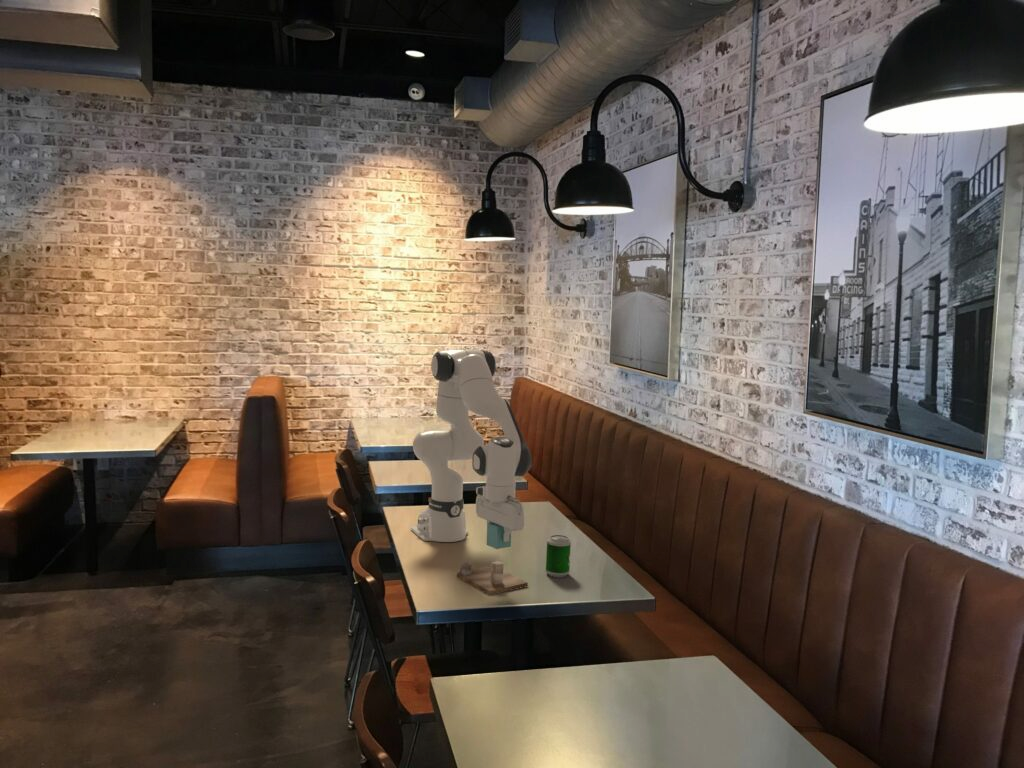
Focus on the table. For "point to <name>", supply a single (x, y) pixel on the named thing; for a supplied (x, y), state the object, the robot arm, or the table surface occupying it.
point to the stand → (490, 578)
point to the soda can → (558, 555)
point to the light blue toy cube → (496, 536)
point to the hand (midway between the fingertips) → (498, 538)
